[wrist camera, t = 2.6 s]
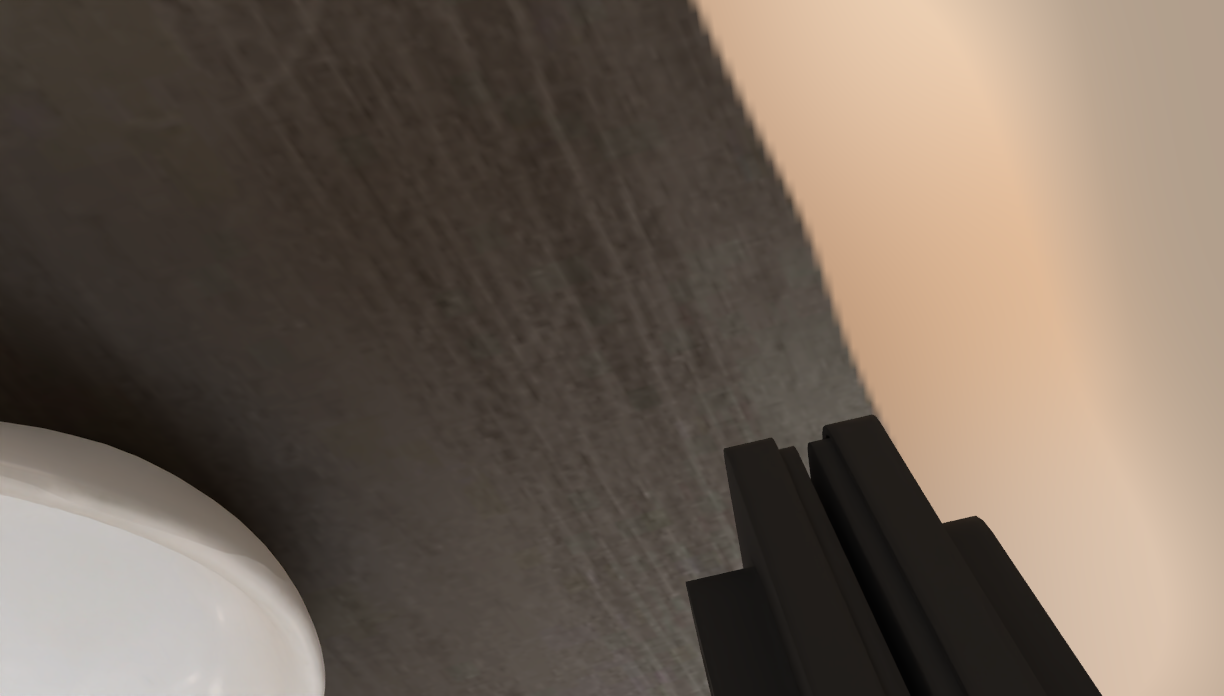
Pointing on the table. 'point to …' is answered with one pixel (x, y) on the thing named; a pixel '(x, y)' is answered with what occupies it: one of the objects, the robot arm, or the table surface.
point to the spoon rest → (136, 583)
